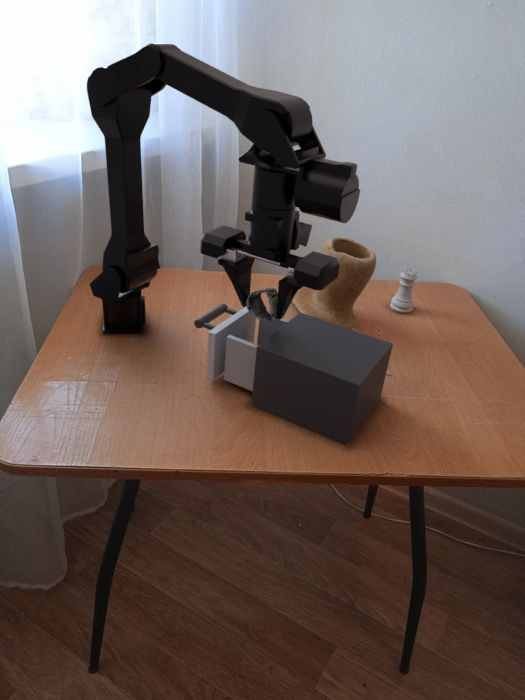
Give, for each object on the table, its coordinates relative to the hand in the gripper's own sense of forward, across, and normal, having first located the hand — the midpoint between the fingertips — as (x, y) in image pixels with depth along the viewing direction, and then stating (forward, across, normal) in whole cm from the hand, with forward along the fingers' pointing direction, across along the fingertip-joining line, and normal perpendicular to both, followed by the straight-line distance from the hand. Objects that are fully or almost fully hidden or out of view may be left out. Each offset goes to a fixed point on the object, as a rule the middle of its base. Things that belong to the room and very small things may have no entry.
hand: (262, 312), depth 80 cm
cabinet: (+11, -10, 0) cm, 15 cm away
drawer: (+10, 0, 0) cm, 10 cm away
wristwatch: (+1, 0, 0) cm, 1 cm away
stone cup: (+12, 0, -26) cm, 28 cm away
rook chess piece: (+12, -10, -38) cm, 41 cm away
